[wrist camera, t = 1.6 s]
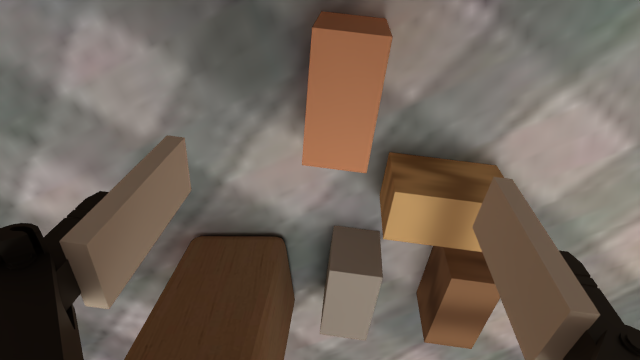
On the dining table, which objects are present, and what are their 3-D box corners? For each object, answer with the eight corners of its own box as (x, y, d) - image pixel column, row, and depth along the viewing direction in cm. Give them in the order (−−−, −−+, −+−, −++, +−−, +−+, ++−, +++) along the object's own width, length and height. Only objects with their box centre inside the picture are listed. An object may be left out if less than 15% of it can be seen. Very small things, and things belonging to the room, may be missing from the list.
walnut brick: (438, 230, 35) (451, 278, 30) (485, 236, 35) (506, 285, 30) (416, 292, 40) (424, 342, 35) (457, 297, 40) (471, 348, 35)
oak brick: (379, 194, 33) (383, 238, 28) (389, 151, 31) (395, 191, 26) (478, 207, 33) (499, 254, 28) (496, 165, 30) (522, 208, 25)
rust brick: (321, 11, 25) (312, 27, 20) (386, 18, 25) (392, 36, 20) (311, 128, 30) (301, 165, 25) (365, 135, 30) (366, 173, 25)
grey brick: (333, 224, 36) (329, 270, 31) (379, 230, 36) (382, 277, 30) (324, 286, 41) (319, 334, 36) (364, 291, 40) (365, 340, 35)
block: (286, 232, 37) (224, 474, 20) (297, 298, 42) (255, 532, 25) (191, 232, 38) (58, 459, 21) (214, 296, 43) (122, 518, 26)
